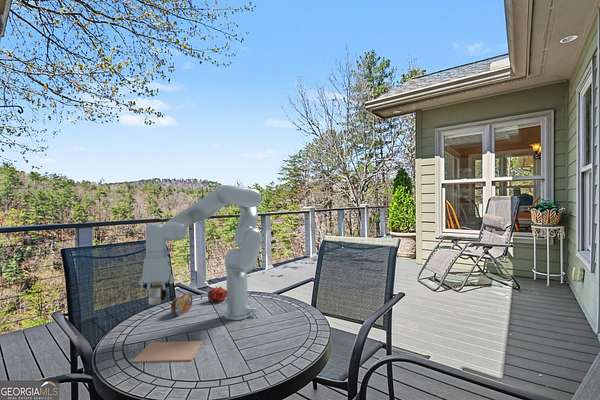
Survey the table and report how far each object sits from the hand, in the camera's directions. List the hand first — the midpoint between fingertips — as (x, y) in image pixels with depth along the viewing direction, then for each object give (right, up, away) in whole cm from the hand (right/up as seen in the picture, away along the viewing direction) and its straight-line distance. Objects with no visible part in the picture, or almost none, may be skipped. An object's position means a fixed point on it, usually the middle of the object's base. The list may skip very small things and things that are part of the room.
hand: (157, 298), depth 129 cm
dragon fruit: (+14, -15, +43) cm, 48 cm away
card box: (0, -1, 0) cm, 1 cm away
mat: (+10, -15, -13) cm, 22 cm away
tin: (0, -15, +27) cm, 31 cm away
